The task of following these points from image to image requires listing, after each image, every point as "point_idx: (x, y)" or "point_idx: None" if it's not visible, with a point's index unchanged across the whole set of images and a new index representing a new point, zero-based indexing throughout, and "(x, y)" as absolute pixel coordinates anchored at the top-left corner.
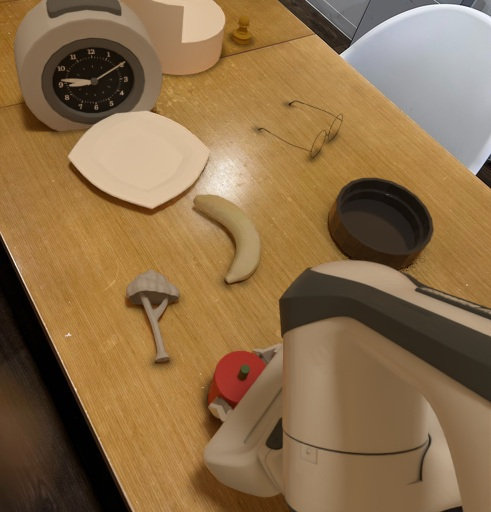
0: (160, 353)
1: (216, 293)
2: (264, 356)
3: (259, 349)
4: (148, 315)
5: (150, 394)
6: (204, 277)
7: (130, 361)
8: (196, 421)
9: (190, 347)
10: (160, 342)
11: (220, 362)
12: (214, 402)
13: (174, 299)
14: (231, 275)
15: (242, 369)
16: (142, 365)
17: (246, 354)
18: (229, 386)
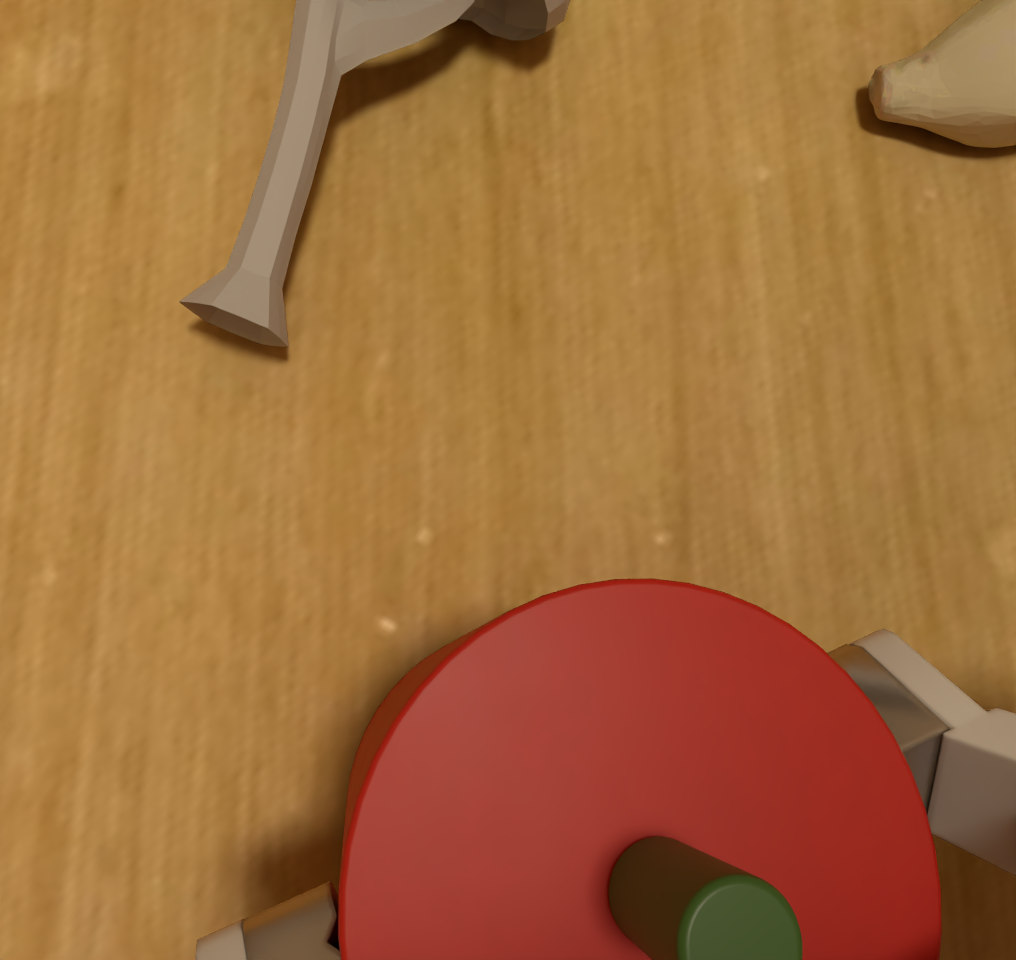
0: (231, 277)
1: (777, 137)
2: (950, 772)
3: (933, 678)
4: (298, 7)
5: (49, 491)
6: (760, 19)
7: (63, 234)
8: (217, 820)
9: (457, 348)
10: (274, 211)
11: (522, 627)
12: (261, 953)
13: (525, 32)
14: (925, 74)
15: (702, 936)
16: (116, 295)
17: (812, 686)
18: (466, 933)
